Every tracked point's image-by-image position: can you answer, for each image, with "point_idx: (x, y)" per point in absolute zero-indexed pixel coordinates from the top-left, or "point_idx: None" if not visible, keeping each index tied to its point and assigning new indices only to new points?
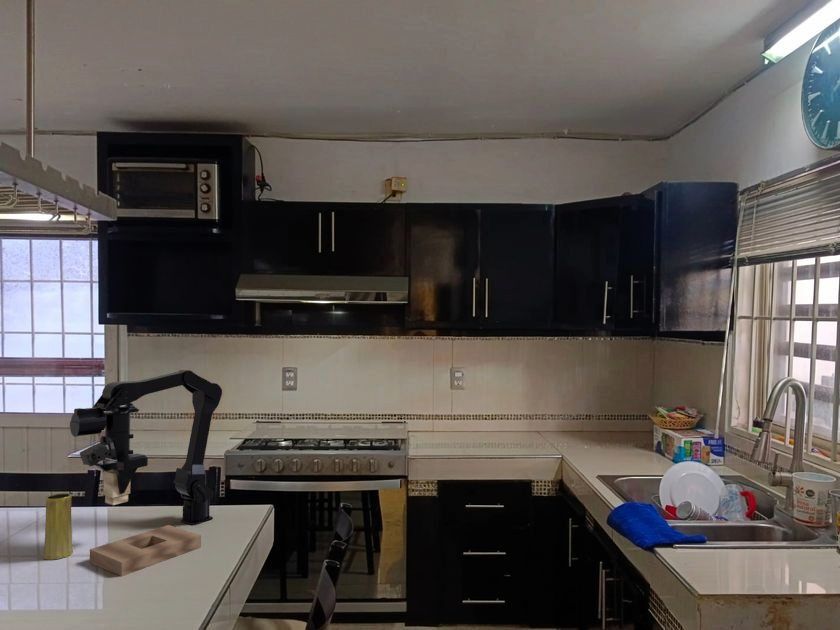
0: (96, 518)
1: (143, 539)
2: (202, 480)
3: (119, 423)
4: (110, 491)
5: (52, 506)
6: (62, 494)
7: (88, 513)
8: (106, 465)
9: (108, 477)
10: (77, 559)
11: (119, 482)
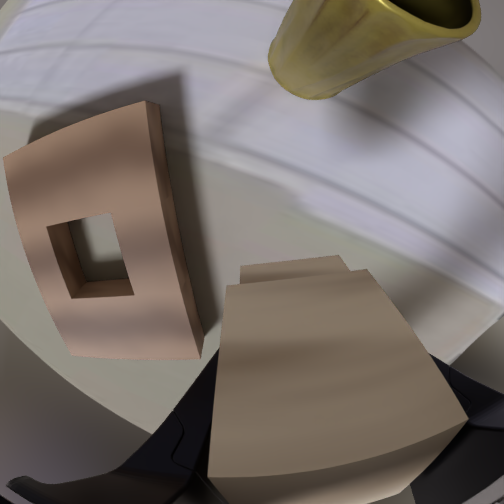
0: (487, 268)
1: (127, 266)
2: None
3: None
4: (263, 308)
5: None
6: (467, 22)
7: None
8: (488, 474)
9: (332, 406)
10: (217, 85)
11: (185, 407)
